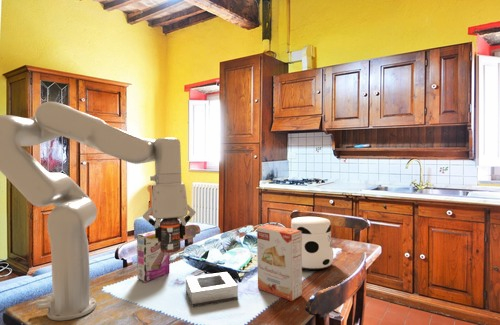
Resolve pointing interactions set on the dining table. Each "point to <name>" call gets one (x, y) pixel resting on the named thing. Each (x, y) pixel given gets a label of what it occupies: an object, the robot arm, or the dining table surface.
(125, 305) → the dining table surface
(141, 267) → the candy bar box
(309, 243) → the milk container
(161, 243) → the supplement bottle
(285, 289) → the cracker box
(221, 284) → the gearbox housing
